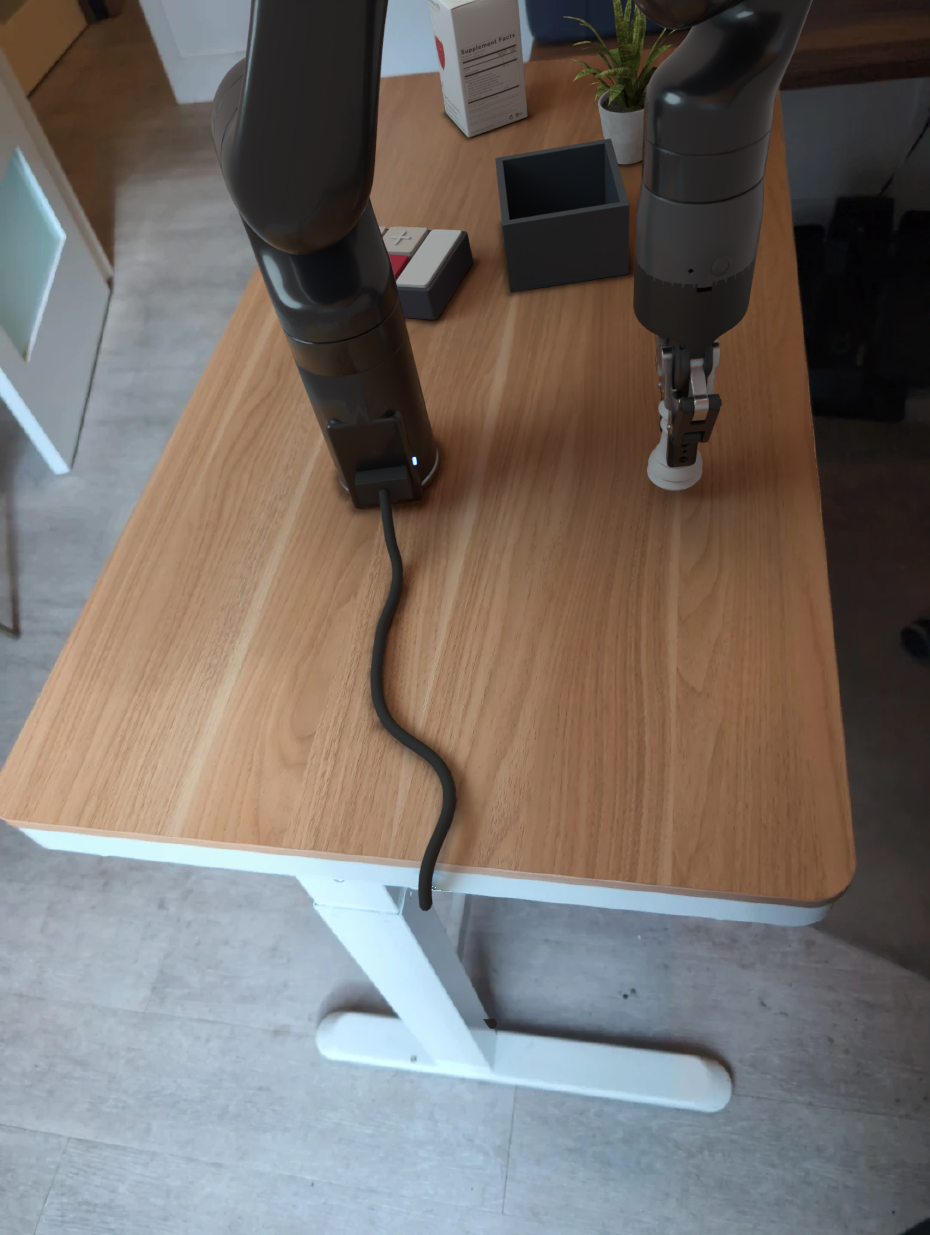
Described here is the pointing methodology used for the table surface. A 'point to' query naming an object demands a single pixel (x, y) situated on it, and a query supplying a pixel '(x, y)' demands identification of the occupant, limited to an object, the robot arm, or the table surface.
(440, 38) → the white product box
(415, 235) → the calculator
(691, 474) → the rook chess piece
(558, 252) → the bin
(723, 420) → the table surface
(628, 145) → the house plant
